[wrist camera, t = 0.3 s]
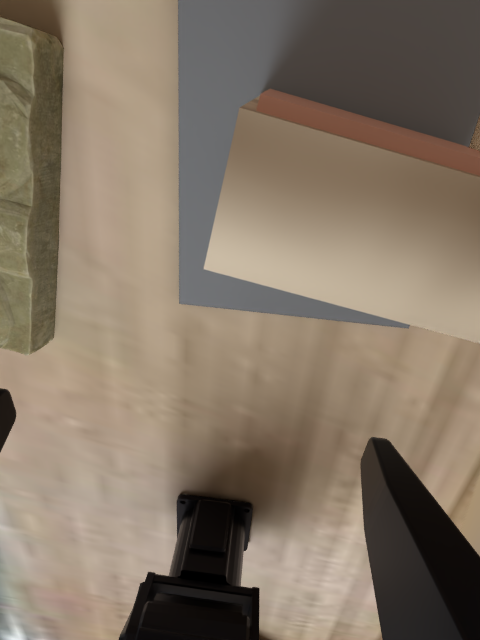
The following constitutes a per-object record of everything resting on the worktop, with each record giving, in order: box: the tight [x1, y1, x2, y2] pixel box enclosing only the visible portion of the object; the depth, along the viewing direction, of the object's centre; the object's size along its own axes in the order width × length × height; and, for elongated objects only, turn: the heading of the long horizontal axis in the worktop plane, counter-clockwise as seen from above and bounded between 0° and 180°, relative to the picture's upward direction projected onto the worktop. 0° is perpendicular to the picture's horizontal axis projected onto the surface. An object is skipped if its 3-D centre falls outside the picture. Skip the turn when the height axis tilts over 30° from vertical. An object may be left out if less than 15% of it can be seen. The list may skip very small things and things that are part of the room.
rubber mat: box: [178, 0, 480, 328], centre depth 19 cm, size 22×14×1 cm, turn 176°
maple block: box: [204, 89, 480, 344], centre depth 16 cm, size 5×10×10 cm, turn 76°
